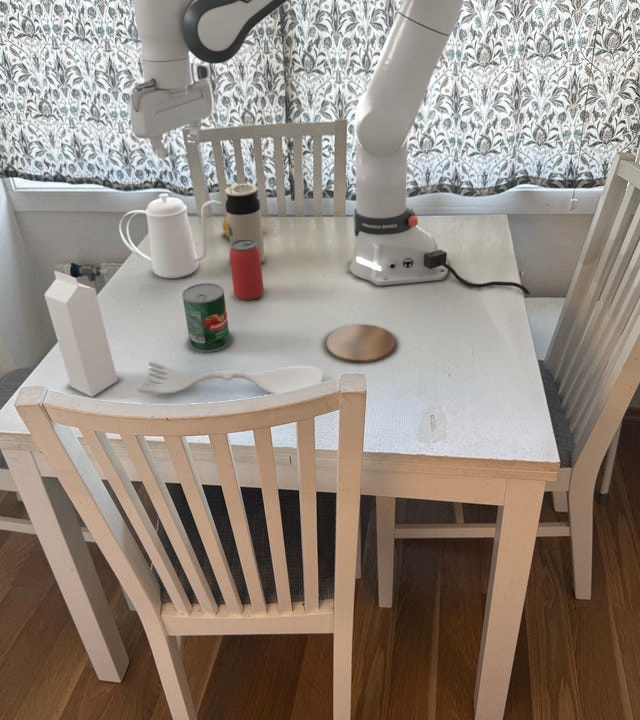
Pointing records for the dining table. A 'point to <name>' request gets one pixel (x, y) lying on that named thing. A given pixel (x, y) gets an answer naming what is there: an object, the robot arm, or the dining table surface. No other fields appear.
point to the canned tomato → (206, 317)
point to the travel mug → (244, 215)
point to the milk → (80, 334)
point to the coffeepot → (170, 237)
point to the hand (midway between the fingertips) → (178, 150)
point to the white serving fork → (266, 380)
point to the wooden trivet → (360, 343)
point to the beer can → (246, 269)
